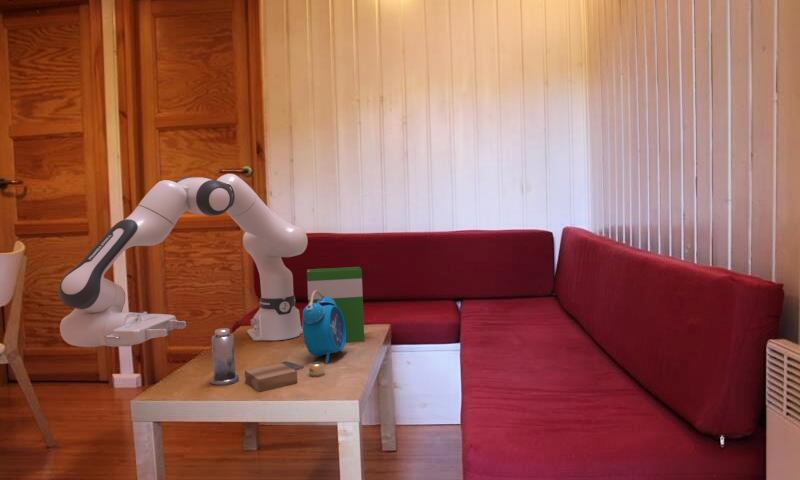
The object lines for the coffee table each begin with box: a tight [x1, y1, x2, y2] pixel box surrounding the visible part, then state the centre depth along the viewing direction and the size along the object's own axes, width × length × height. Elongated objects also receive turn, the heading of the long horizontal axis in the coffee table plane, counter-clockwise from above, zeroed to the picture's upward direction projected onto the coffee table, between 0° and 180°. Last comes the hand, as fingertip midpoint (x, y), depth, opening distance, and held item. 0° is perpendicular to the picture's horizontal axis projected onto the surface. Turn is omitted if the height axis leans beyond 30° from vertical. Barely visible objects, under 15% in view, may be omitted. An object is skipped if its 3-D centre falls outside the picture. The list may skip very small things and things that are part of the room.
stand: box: [244, 362, 298, 393], centre depth 138 cm, size 10×10×3 cm
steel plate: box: [281, 361, 305, 371], centre depth 150 cm, size 8×6×1 cm
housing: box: [210, 327, 240, 387], centre depth 140 cm, size 7×7×14 cm
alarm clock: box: [301, 290, 346, 364], centre depth 160 cm, size 17×10×20 cm, turn 168°
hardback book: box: [306, 266, 365, 344], centre depth 179 cm, size 18×7×24 cm, turn 99°
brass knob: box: [308, 361, 325, 378], centre depth 143 cm, size 4×4×3 cm
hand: (176, 328), depth 140 cm, fingers open, 8 cm apart
